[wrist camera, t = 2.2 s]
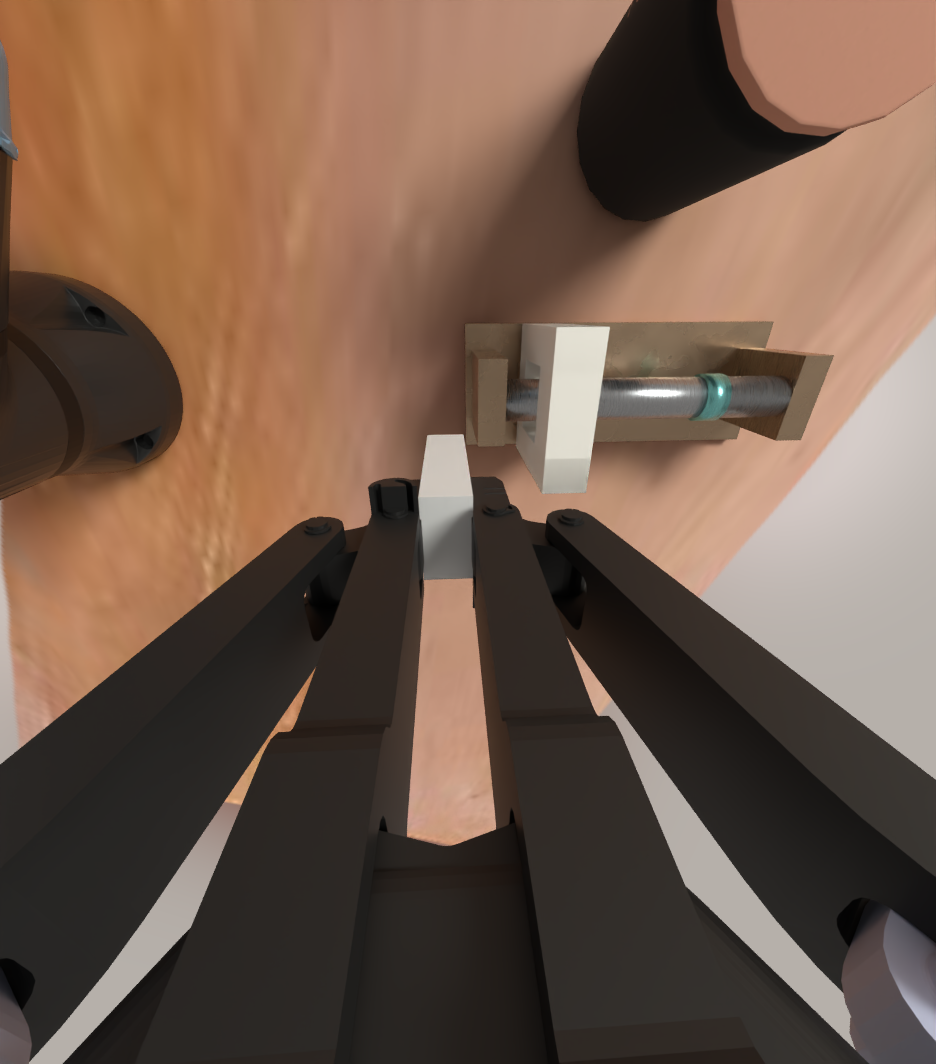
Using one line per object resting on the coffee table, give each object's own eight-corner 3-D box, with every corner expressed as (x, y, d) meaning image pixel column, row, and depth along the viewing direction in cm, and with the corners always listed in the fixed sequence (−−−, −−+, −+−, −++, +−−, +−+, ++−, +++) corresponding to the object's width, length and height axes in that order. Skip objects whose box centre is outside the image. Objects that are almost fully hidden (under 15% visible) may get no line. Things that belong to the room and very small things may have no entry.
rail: (465, 441, 38) (471, 473, 31) (464, 323, 34) (471, 325, 26) (730, 436, 39) (798, 465, 32) (765, 321, 35) (856, 323, 27)
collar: (515, 446, 37) (541, 493, 27) (522, 323, 32) (556, 327, 22) (548, 446, 37) (585, 492, 27) (559, 323, 32) (609, 326, 22)
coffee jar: (738, 11, 26) (1200, -464, 10) (706, 217, 31) (981, 116, 15) (574, 28, 26) (780, -424, 10) (569, 231, 31) (701, 144, 15)
